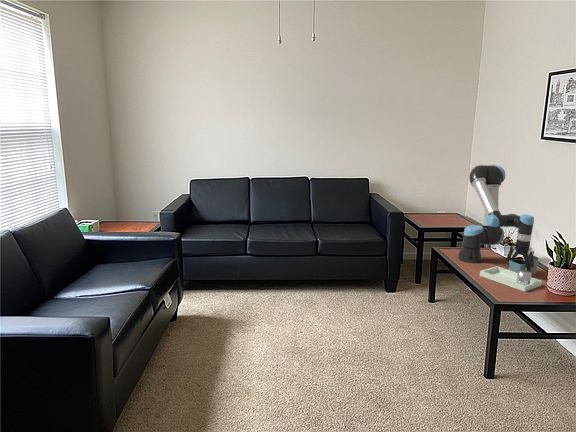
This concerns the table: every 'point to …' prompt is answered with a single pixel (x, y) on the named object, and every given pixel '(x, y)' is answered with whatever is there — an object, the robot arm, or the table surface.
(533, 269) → the cup
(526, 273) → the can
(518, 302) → the table surface
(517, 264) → the flower pot
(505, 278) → the shallow serving tray
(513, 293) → the table surface
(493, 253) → the table surface
